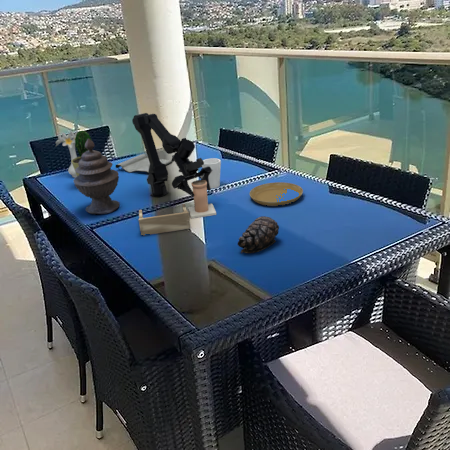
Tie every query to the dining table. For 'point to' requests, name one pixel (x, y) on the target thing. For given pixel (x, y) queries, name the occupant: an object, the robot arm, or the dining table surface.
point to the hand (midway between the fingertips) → (201, 193)
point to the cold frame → (164, 222)
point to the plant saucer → (273, 193)
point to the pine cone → (259, 235)
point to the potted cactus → (80, 147)
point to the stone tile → (195, 214)
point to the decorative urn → (96, 180)
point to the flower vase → (70, 142)
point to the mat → (139, 164)
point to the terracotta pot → (200, 195)
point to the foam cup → (213, 171)
